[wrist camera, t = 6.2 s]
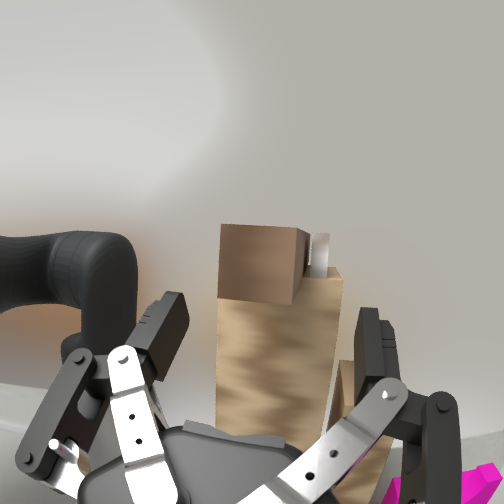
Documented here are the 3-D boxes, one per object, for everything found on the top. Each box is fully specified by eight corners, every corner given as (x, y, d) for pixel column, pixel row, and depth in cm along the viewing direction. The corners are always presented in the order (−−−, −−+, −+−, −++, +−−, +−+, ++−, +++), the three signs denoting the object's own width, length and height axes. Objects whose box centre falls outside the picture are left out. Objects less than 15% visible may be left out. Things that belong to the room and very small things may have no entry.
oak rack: (216, 529, 25) (222, 227, 23) (236, 481, 35) (250, 230, 33) (348, 544, 22) (431, 241, 20) (347, 492, 32) (398, 240, 30)
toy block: (466, 489, 26) (486, 452, 26) (478, 515, 20) (503, 478, 20) (374, 502, 29) (390, 465, 29) (378, 533, 23) (397, 498, 23)
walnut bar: (217, 298, 14) (221, 223, 13) (281, 259, 37) (283, 232, 37) (291, 305, 13) (296, 228, 13) (308, 261, 36) (310, 234, 36)
